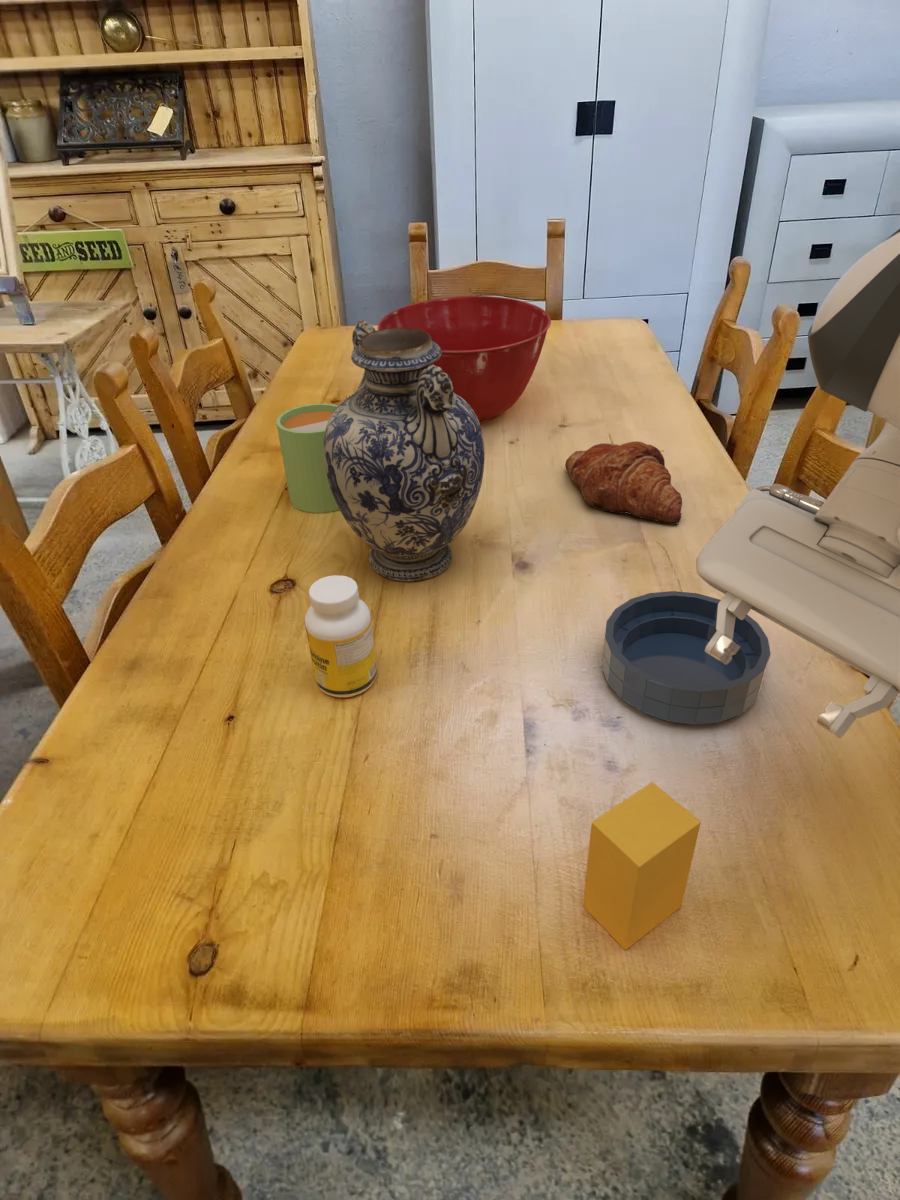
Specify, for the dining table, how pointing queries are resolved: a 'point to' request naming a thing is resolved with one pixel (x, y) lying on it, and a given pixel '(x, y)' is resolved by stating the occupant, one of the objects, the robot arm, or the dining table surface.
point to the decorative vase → (404, 454)
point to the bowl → (681, 659)
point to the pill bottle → (340, 637)
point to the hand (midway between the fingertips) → (768, 692)
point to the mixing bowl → (480, 345)
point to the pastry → (626, 481)
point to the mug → (306, 456)
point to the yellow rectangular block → (639, 863)
